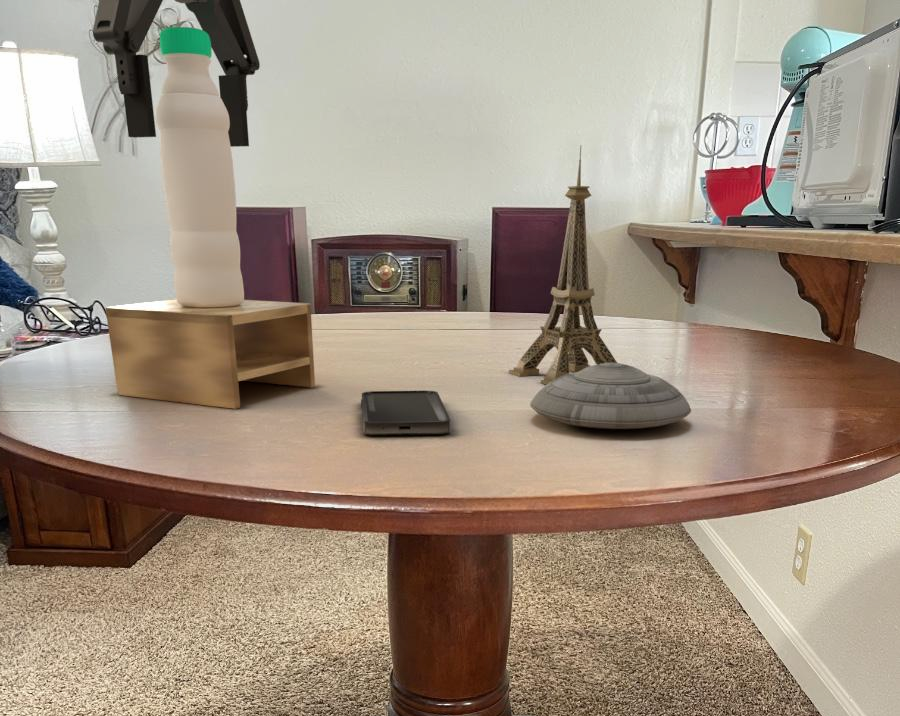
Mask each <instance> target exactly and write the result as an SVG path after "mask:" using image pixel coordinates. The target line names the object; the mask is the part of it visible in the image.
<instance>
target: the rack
mask: <svg viewBox="0 0 900 716" xmlns="http://www.w3.org/2000/svg"><path fill="white" fill-rule="evenodd" d="M105 315H106V321H107V328H108V335H109V336H108V337H109V342H110V343H109V344H110V349H111V355H112V356H111V358H112V365H113V370H114V377H115V384H116V391H117V395H118V396H125V397H133V398H140V399H149V400H157V401H158V400H159V401H167V402H174V403H184V404H191V405H200V406H209V407H217V408H223V409H232V410H238V409H240V408H241V397H240V387H239V382H241V381H243V382H252V383H253V382H254V383H261V384H262V383H263V384H271V385H282V386H292V387H300V388H309V389H311V388H315V387H316V378H315V377H316V376H315V360H314V359H315V358H314V343H313V340H314V339H313V325H312V324H313V323H312V304H311V303H309V302H293V301H291V302H290V301H277V300H276V301H275V300H273V301H272V300H256V299H244V301H243V302H242V303H241V304H240V305H238V306H232V307H219V308H194V307H185V306H182V305H180V304H179V303H178V302H177V300H176V299H168V300H159V301H151V302H141V303H131V304H123V305H115V306H106V307H105Z"/></svg>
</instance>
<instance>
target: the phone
mask: <svg viewBox="0 0 900 716" xmlns="http://www.w3.org/2000/svg"><path fill="white" fill-rule="evenodd" d="M360 408H361V411H362V412H361V413H362V432H363V434H365V435H367V436H368V435H369V436H409V435H411V436H412V435H413V436H414V435H415V436H416V435H417V436H418V435H444V434H445V435H446V434H449V433H450V432H451V418H450V415H449V414H448V411H447V409H446V407H445V405H444V403H443V400H442V399H441V396H440V394H439V392H438V391H435V390H372V391H371V390H370V391H369V390H368V391H364V392H362V393H361V398H360Z"/></svg>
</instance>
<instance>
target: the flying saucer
mask: <svg viewBox="0 0 900 716" xmlns="http://www.w3.org/2000/svg"><path fill="white" fill-rule="evenodd" d="M529 406H530V407H531V409H532V410H533V411H534V412H535V413H537V414H538V415H540V416H542V417H544V418H547V419H548V420H552V421H555V422H558V423H562V424H566V425H572V426H576V427H584V428H592V429H604V430H634V429H637V430H638V429H647V428H655V427H660V426H665V425H670V424H673V423H676V422H679V421H681V420H683V419H685V418H686V417H688V416H689V415H690V414H691V413H692V408H691V406H690V403H689V402H688V400H687V399H686V397H685V396H684V395H683V394H682V392H681V391H680V390H679V389H678V388H677V387H675V386H674V385H672V384H671V383H670V382H668V381H667V380H665V379H663V378H661V377H659V376H656V375H653V374H648V373H646V372H645V371H643V370H642V369H640V368H637V367H634V366H632V365H628V364H625V363H620V362H617V363H602V364H593V365H590V367H587V368H585V369H582V370H581V371H579V372H573V371H572V372H569V374H565V375H563V376H561V377H559V378H557V379H555V380H553V381H551V382H550V383H548V384H547V385H546V384H544V386H543V387H541V389H539V391H537V393H536V394H535V395H534V397H533V398H532V400H531V402H530V403H529Z"/></svg>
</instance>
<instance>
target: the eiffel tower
mask: <svg viewBox="0 0 900 716" xmlns="http://www.w3.org/2000/svg"><path fill="white" fill-rule="evenodd" d="M579 146H580V148H579V150H580V151H579V160H578V168H577V176H576V177H577V179H576V185H569V186H567V189H568V190H567V192H566V193H565V194H564V196H565V197H567V198H568V199H569V200H570V204H569V210H568V217H567V224H566V230H565V237H564V243H563V249H562V254H561V255H562V256H561V261H560V268H559V274H558V279H557V286H552V287H551V291H550V295H552V296H553V301H552V304H551V308H550V312H549V313H548V317H547V319H546V321H545V322H544V325H542V326H541V325H540V327H539V328H540V330H541V333H540V334H539V336H537V338H536V339H535V340H534V341H533V343H532V344H531V345H530V346H529V347H528V348H527V351H525V353H524V354H523V355H522V356H521V358H520V359H519V360H518V362H517V364H516V367H513V369H508V373H509V374H511V375H514V376H517V377H525V376H539V375H540V369H539V368H537V367H538V366H539V365H540V364H541V362H542V361H543V360H544V358H545V357H546V355H547V354H548V353H549V352H550V351H551V350H552V349H553V348H555V349H556V350H557V352H556V354H555V356H554V358H553V360H552V362H551V364H550V366H549V367H548V369H547V371H546V376H544V377H543V379H540V384H542V385H547V384H548V383H550V382H551V381H553V380H555V379H557V378H559V377H561V376H563V375H565V374H569V373H570V372H572V373H573V372H579V371H581V370H582V369H585V368H587V367H590V366H591V364H589V360H588V357H587V355H586V353H585V351H586V352H587V353H588V354H589V355H590V356H591V358H592V359H593V362H594V363H595V365H597V364H602V363H618V361H617V360H616V359H615V357H614V356H613V354H612V352H611V351H610V349H609V348H608V346H607V345H606V343H605V342H604V340H603V339H602V338H601V336H600V333H601V331H602V328H598V325H597V322H596V320H595V317H594V311H593V306H592V297H594V296H596V294H595V290H594V287H592V288H590V286H589V285H590V284H589V267H588V266H589V264H588V247H587V246H588V245H587V224H586V220H587V219H586V203H585V202H586V199H588V198H590V197H591V196H592V193H591V192H590V190H589V189H590V186H587V185H582V183H581V182H582V158H581V157H582V145H581V144H580V145H579ZM563 306H564V309H563ZM562 309H563V313H562ZM580 309H581V315H582V320H583V325H584V326H582V325H581V318H580ZM561 313H562V314H563V315H562V320H561V324H560V326H557V325H558V323H559V319H560V315H561ZM583 349H584V350H585V351H584V350H583Z"/></svg>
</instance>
